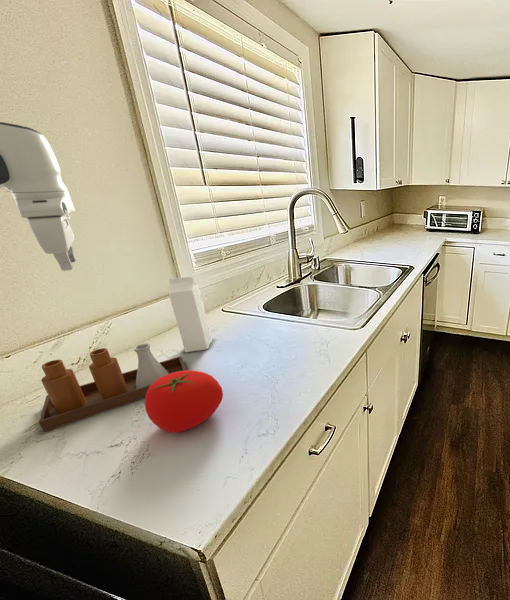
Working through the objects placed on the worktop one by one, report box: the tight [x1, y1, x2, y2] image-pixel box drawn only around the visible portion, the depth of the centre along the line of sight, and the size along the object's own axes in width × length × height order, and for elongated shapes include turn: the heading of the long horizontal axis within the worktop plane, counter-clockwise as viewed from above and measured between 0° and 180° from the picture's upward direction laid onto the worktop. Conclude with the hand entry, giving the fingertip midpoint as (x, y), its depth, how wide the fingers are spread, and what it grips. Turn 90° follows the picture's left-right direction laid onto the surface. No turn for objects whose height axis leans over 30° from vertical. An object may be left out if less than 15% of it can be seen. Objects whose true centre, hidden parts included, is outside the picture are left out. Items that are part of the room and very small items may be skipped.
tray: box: [38, 355, 187, 432], centre depth 78 cm, size 26×11×2 cm, turn 130°
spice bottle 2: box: [88, 347, 128, 400], centre depth 75 cm, size 5×5×12 cm
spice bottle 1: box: [40, 359, 87, 414], centre depth 71 cm, size 5×5×12 cm
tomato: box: [144, 369, 224, 434], centre depth 67 cm, size 12×14×11 cm
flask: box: [133, 342, 169, 389], centre depth 80 cm, size 7×7×10 cm
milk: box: [168, 276, 213, 353], centre depth 96 cm, size 6×6×22 cm
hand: (69, 265), depth 77 cm, fingers open, 8 cm apart
